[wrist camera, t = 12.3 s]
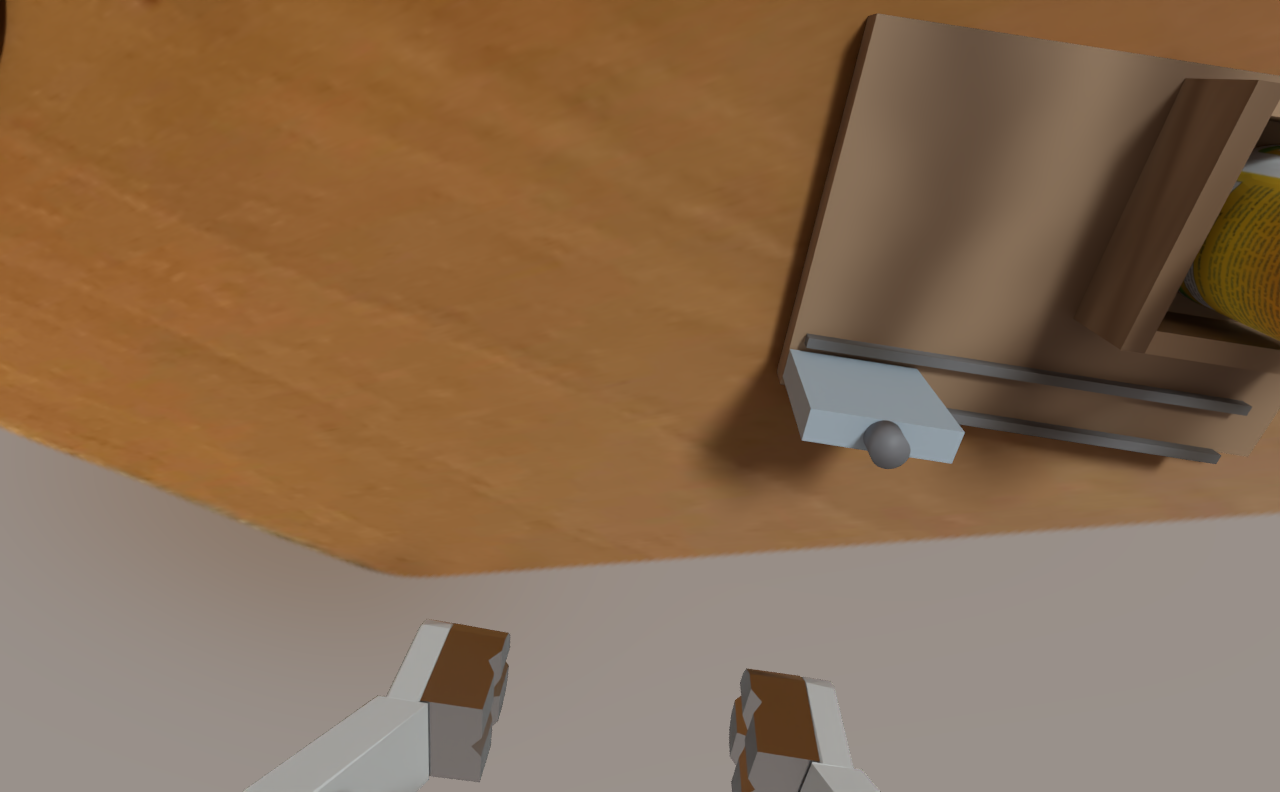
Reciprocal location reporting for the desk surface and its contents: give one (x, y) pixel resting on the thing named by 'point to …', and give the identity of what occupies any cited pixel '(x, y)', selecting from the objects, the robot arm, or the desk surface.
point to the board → (1041, 237)
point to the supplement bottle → (1244, 250)
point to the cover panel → (869, 408)
